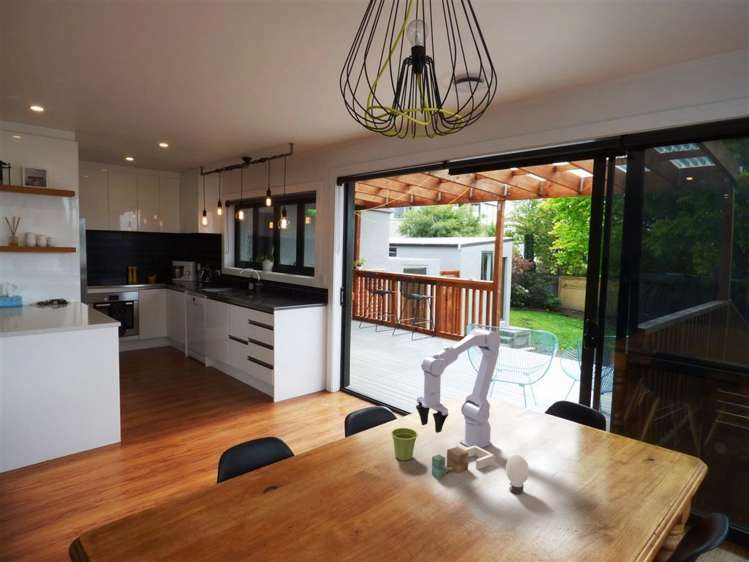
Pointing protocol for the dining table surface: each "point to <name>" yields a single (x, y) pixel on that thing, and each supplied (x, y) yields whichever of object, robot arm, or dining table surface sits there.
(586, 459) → the dining table surface
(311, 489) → the dining table surface
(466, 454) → the tethered block
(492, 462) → the shelf lane
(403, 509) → the dining table surface
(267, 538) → the dining table surface
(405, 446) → the plant pot
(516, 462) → the light bulb
